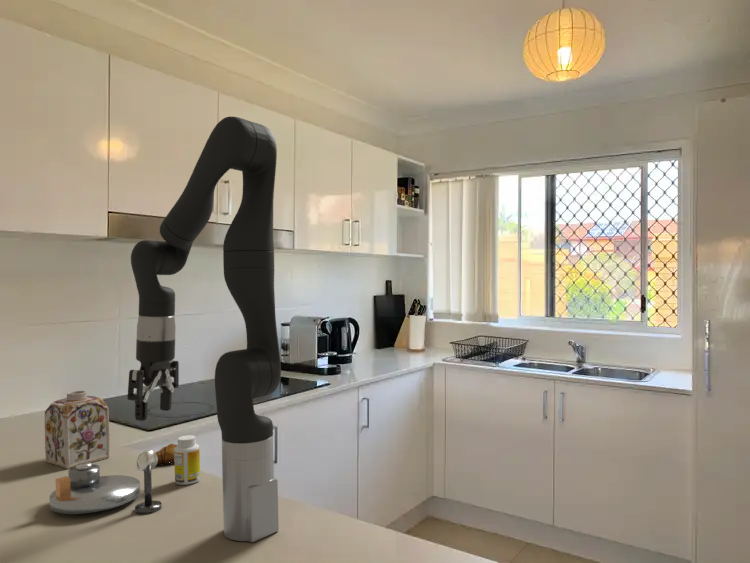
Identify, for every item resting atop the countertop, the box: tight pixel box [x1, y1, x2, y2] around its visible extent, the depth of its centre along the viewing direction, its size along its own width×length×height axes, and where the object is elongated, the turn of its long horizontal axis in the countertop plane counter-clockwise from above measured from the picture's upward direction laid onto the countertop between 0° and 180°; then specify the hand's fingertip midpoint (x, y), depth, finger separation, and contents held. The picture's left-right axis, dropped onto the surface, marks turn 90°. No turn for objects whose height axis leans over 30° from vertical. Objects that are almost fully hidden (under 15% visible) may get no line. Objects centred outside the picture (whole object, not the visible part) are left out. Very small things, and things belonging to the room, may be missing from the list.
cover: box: [67, 462, 101, 489], centre depth 123 cm, size 6×6×4 cm
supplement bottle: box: [174, 434, 201, 486], centre depth 131 cm, size 6×6×10 cm
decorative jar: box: [44, 390, 111, 470], centre depth 150 cm, size 12×12×18 cm
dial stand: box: [134, 449, 163, 515], centre depth 115 cm, size 5×5×12 cm
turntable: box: [49, 474, 141, 515], centre depth 119 cm, size 17×17×6 cm
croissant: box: [154, 443, 178, 466], centre depth 147 cm, size 14×7×5 cm, turn 122°
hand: (153, 414), depth 118 cm, fingers open, 8 cm apart
